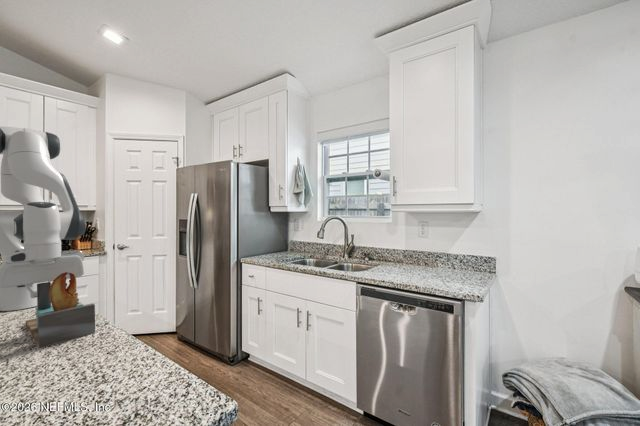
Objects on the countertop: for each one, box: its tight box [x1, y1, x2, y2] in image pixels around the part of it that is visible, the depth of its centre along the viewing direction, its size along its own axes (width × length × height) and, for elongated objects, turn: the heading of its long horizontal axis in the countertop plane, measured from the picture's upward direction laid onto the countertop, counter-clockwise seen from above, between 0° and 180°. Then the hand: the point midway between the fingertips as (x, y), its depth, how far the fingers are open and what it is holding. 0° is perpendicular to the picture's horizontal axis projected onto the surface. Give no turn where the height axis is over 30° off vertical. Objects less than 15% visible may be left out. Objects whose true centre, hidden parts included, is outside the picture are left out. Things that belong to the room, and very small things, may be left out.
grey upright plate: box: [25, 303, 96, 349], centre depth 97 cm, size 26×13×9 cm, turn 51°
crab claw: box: [49, 272, 80, 311], centre depth 92 cm, size 7×5×20 cm
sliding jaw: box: [35, 281, 84, 328], centre depth 96 cm, size 7×10×14 cm
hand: (44, 295), depth 94 cm, fingers closed on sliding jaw, 3 cm apart
